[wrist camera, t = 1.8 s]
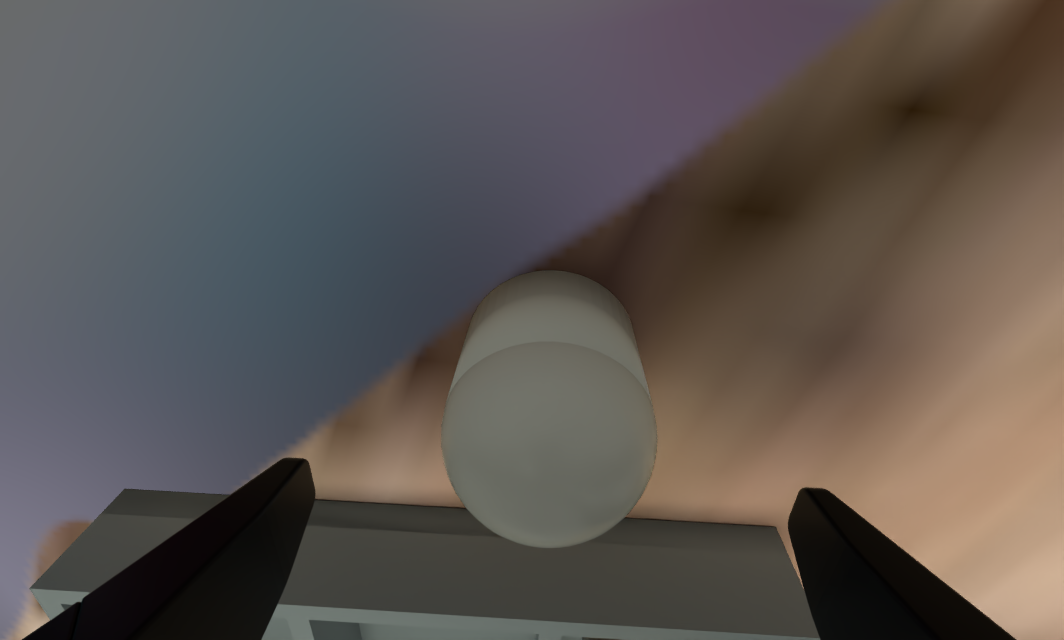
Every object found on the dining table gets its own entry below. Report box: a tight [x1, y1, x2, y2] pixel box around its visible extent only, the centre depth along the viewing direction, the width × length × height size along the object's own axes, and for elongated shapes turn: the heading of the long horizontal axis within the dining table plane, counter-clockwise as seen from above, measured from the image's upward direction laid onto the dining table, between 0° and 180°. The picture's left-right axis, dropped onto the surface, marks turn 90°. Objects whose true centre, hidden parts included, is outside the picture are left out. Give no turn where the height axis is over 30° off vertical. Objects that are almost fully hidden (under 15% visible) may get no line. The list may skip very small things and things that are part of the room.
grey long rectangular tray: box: [30, 489, 820, 640], centre depth 17 cm, size 21×8×4 cm, turn 88°
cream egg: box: [441, 270, 657, 548], centre depth 11 cm, size 4×4×6 cm
